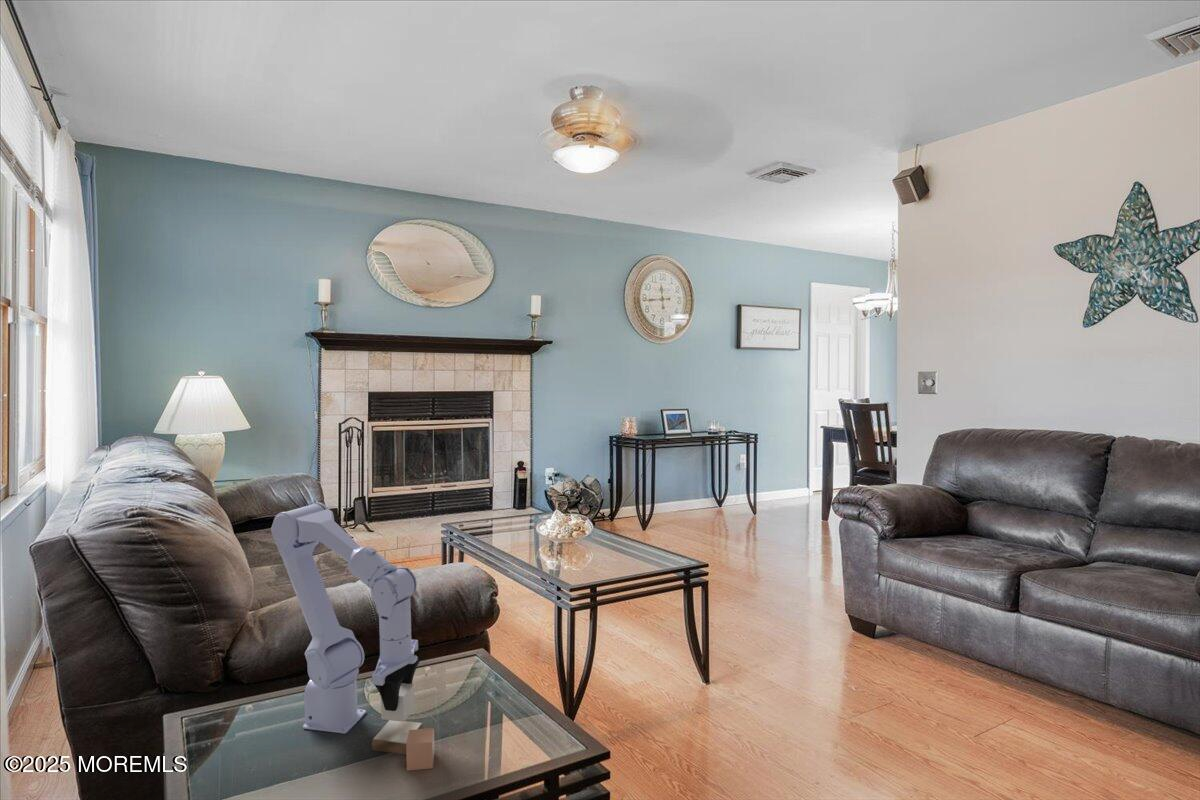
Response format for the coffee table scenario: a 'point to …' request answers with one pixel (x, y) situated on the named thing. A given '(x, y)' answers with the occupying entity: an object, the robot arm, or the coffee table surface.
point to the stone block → (401, 704)
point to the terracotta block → (420, 749)
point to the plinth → (394, 736)
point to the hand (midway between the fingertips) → (397, 702)
